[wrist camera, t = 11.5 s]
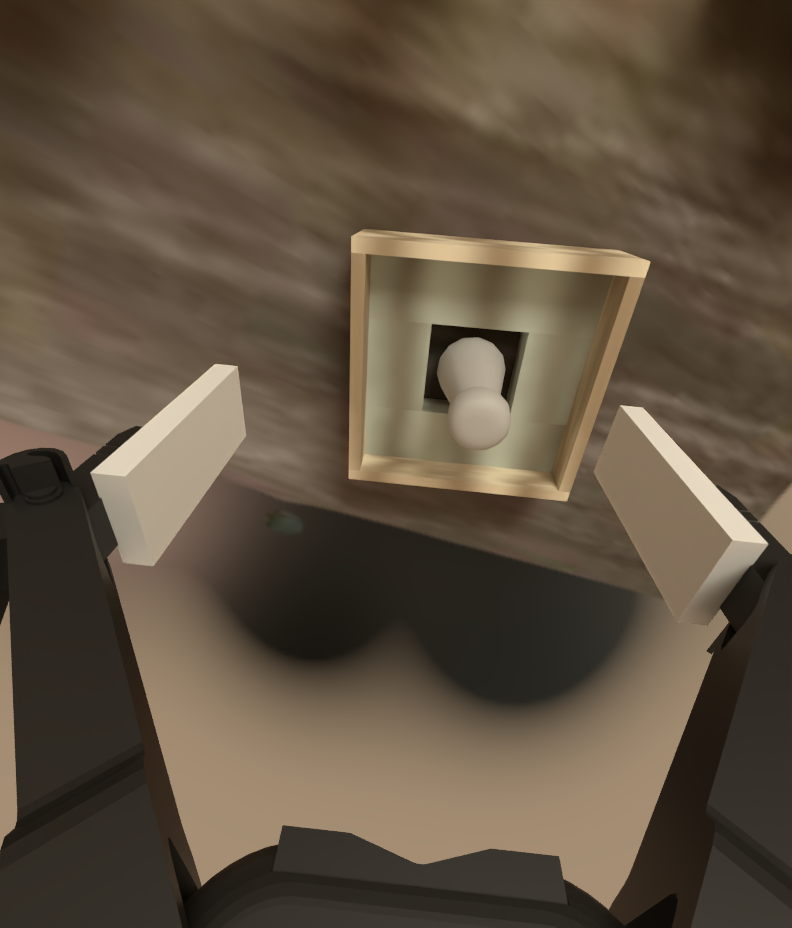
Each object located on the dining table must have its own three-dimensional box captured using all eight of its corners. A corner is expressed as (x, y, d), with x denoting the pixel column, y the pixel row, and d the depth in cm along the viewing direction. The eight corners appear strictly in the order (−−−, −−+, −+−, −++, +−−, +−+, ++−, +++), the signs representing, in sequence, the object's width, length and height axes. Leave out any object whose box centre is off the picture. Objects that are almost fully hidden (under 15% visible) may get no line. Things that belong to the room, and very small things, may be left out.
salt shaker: (514, 364, 40) (543, 432, 29) (464, 403, 42) (473, 479, 31) (474, 315, 38) (488, 369, 27) (424, 359, 40) (418, 424, 29)
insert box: (358, 446, 46) (348, 478, 41) (364, 228, 35) (351, 236, 30) (552, 465, 45) (566, 501, 40) (619, 250, 34) (650, 261, 29)
